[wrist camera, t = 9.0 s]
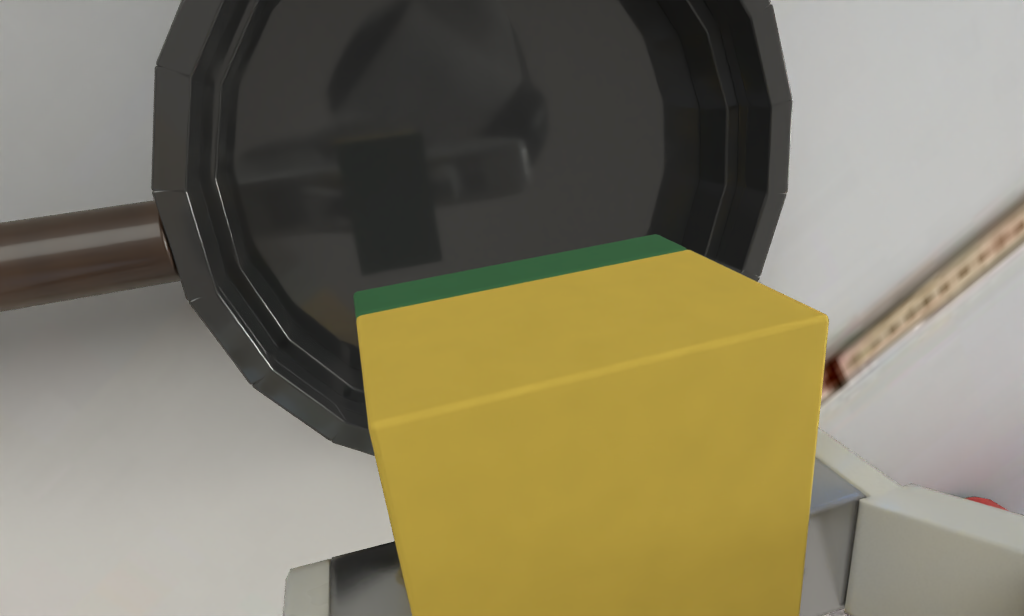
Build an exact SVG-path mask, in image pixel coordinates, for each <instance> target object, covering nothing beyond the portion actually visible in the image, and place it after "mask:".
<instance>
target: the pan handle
mask: <svg viewBox="0 0 1024 616" xmlns="http://www.w3.org/2000/svg"><path fill="white" fill-rule="evenodd" d="M176 281H181V280H180V277H179V274H178V271H177V268H176V265H175V262H174V259H173V256H172V253H171V250H170V246H169V243H168V240H167V237H166V234H165V231H164V228H163V225H162V222H161V219H160V216H159V212H158V209H157V206H156V203H155V200H154V201H147V202H140V203H133V204H126V205H119V206H112V207H105V208H98V209H92V210H85V211H78V212H71V213H64V214H57V215H50V216H43V217H36V218H30V219H23V220H16V221H9V222H2V223H0V312H3V311H9V310H14V309H20V308H26V307H32V306H37V305H43V304H49V303H55V302H60V301H66V300H72V299H78V298H84V297H89V296H95V295H101V294H107V293H112V292H118V291H124V290H130V289H135V288H141V287H147V286H153V285H158V284H164V283H170V282H176Z"/></svg>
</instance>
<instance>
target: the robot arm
mask: <svg viewBox="0 0 1024 616" xmlns="http://www.w3.org/2000/svg"><path fill="white" fill-rule="evenodd" d="M844 608H845V611H844V612H846V613H847V614H849V615H851V616H1024V515H1021V514H1017V513H1014V512H1010V511H1007V510H1003V509H1000V508H996V507H992V506H989V505H985V504H982V503H978V502H975V501H971V500H968V499H964V498H961V497H957V496H953V495H950V494H946V493H943V492H939V491H936V490H932V489H929V488H925V487H922V486H918V485H915V484H909V485H905V486H901V485H899V484H898V483H896V482H895V481H894V480H892V479H891V478H889V477H888V476H887V475H885V474H884V473H882V472H881V471H879V470H878V469H877V468H875V467H874V466H872V465H871V464H870V463H868V462H867V461H865V460H864V459H862V458H861V457H860V456H858V455H857V454H855V453H854V452H853V451H851V450H850V449H848V448H847V447H846V446H844V445H843V444H841V443H840V442H838V441H837V440H836V439H834V438H833V437H831V436H830V435H829V434H827V433H826V432H824V431H823V430H821V429H820V428H819V427H818V434H817V444H816V454H815V464H814V474H813V484H812V494H811V504H810V514H809V524H808V534H807V544H806V554H805V564H804V574H803V584H802V594H801V604H800V614H799V616H822V615H825V614H828V613H831V612H834V611H837V610H841V609H844ZM283 616H412V613H411V608H410V604H409V600H408V595H407V591H406V587H405V583H404V578H403V574H402V570H401V565H400V561H399V557H398V553H397V548H396V544H395V541H394V542H390V543H387V544H383V545H379V546H375V547H371V548H367V549H363V550H359V551H355V552H352V553H348V554H344V555H340V556H336V557H332V559H327V560H324V561H320V562H316V563H312V564H308V565H304V566H300V567H297V568H293V569H290V571H289V573H288V576H287V578H286V583H285V595H284V606H283Z"/></svg>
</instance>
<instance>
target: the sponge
mask: <svg viewBox="0 0 1024 616" xmlns="http://www.w3.org/2000/svg"><path fill="white" fill-rule="evenodd" d="M353 299H354V307H355V316H356V324H357V333H358V342H359V350H360V359H361V367H362V376H363V385H364V393H365V402H366V411H367V419H368V428H369V433H370V437H371V441H372V445H373V450H374V454H375V458H376V463H377V467H378V471H379V475H380V480H381V484H382V488H383V493H384V497H385V501H386V505H387V510H388V514H389V518H390V523H391V527H392V531H393V535H394V540H395V544H396V548H397V553H398V557H399V561H400V565H401V570H402V574H403V578H404V583H405V587H406V591H407V595H408V600H409V604H410V608H411V613H412V616H799V614H800V604H801V594H802V584H803V574H804V564H805V554H806V544H807V534H808V524H809V514H810V504H811V494H812V484H813V474H814V464H815V454H816V444H817V434H818V424H819V414H820V404H821V395H822V385H823V375H824V365H825V355H826V345H827V335H828V325H829V319H828V316H827V315H826V314H824V313H822V312H820V311H817V310H815V309H813V308H811V307H809V306H807V305H805V304H803V303H801V302H798V301H796V300H794V299H792V298H790V297H788V296H786V295H784V294H782V293H780V292H777V291H775V290H773V289H771V288H769V287H767V286H765V285H763V284H761V283H758V282H756V281H754V280H752V279H750V278H748V277H746V276H744V275H742V274H740V273H737V272H735V271H733V270H731V269H729V268H727V267H725V266H723V265H721V264H718V263H716V262H714V261H712V260H710V259H708V258H706V257H704V256H702V255H700V254H697V253H695V252H693V251H691V250H687V249H686V248H685V247H683V246H681V245H679V244H677V243H674V242H672V241H670V240H668V239H666V238H664V237H662V236H660V235H657V234H654V235H649V236H644V237H638V238H633V239H628V240H623V241H618V242H612V243H607V244H602V245H597V246H592V247H586V248H581V249H576V250H571V251H565V252H560V253H555V254H550V255H545V256H539V257H534V258H529V259H524V260H519V261H513V262H508V263H503V264H498V265H493V266H487V267H482V268H477V269H472V270H467V271H461V272H456V273H451V274H446V275H441V276H435V277H430V278H425V279H420V280H415V281H409V282H404V283H399V284H394V285H389V286H383V287H378V288H373V289H368V290H363V291H357V292H356V293H354V296H353Z"/></svg>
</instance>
